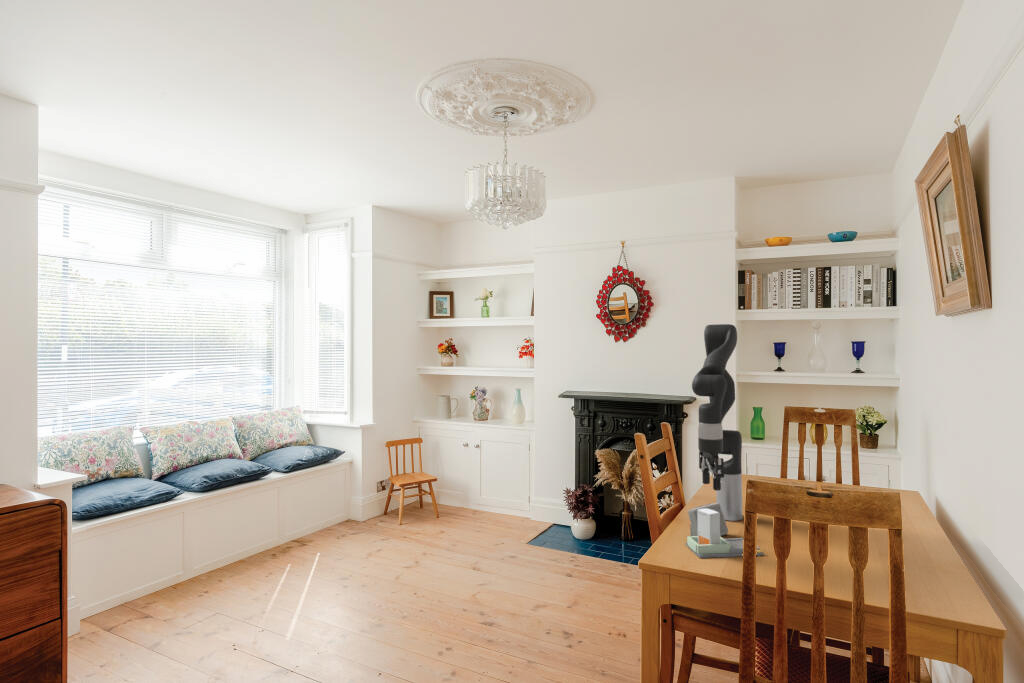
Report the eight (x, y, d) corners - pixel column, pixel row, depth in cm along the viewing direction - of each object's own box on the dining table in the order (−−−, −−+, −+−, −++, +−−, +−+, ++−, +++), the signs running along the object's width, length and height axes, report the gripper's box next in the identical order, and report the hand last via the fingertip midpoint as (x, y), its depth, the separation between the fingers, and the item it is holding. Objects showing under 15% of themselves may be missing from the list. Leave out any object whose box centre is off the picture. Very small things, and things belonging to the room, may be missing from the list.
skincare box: (697, 546, 187) (696, 509, 187) (707, 544, 189) (707, 507, 189) (710, 552, 181) (709, 514, 181) (721, 550, 183) (720, 512, 183)
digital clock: (698, 544, 191) (697, 512, 191) (680, 536, 199) (679, 505, 200) (735, 537, 197) (735, 506, 198) (716, 530, 206) (716, 500, 206)
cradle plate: (723, 543, 189) (723, 540, 189) (743, 542, 189) (743, 540, 189) (732, 550, 182) (732, 547, 182) (752, 549, 183) (752, 547, 183)
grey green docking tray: (684, 545, 191) (684, 535, 191) (745, 542, 192) (745, 532, 192) (699, 558, 179) (699, 547, 179) (763, 555, 180) (763, 545, 180)
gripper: (731, 439, 179) (732, 492, 179) (712, 432, 194) (713, 481, 194) (707, 440, 179) (708, 493, 179) (690, 433, 193) (691, 482, 193)
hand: (711, 486), depth 186 cm, fingers open, 8 cm apart
